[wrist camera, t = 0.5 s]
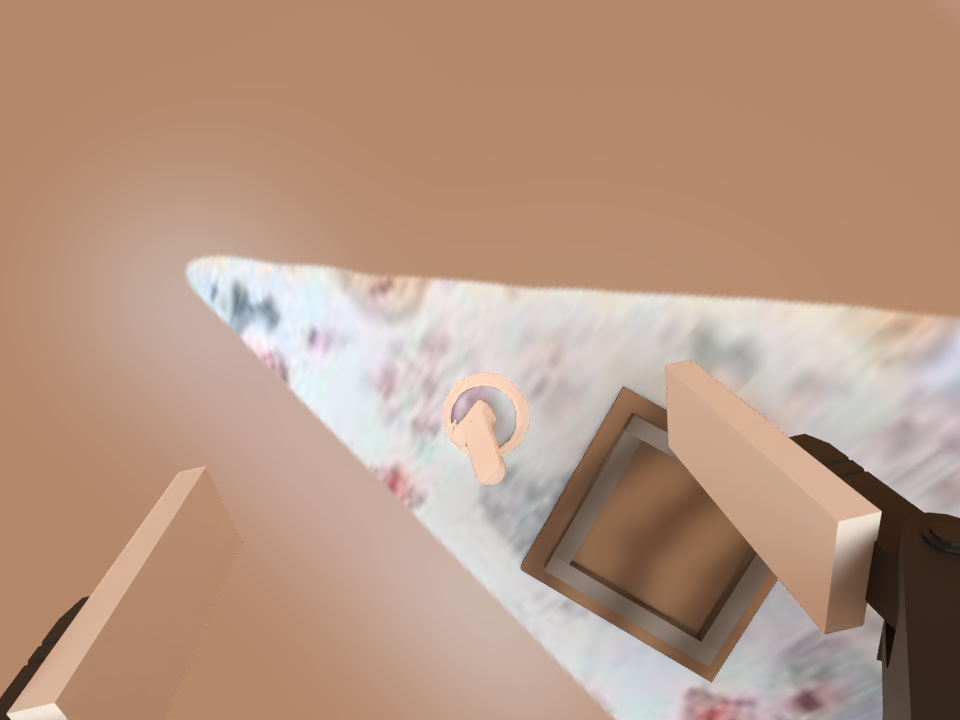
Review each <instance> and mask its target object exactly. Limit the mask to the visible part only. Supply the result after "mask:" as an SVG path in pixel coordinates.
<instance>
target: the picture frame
mask: <svg viewBox="0 0 960 720" xmlns="http://www.w3.org/2000/svg"><path fill="white" fill-rule="evenodd" d="M521 570H522V571H524V572H525V573H527V574H529V575H531V576H532V577H534V578H536V579H537V580H539V581H541V582H542V583H544V584H546V585H547V586H549V587H551V588H553V589H554V590H556V591H558V592H559V593H561V594H563V595H564V596H566V597H568V598H569V599H571V600H573V601H575V602H576V603H578V604H580V605H581V606H583V607H585V608H586V609H588V610H590V611H591V612H593V613H595V614H597V615H598V616H600V617H602V618H603V619H605V620H607V621H608V622H610V623H612V624H614V625H615V626H617V627H619V628H620V629H622V630H624V631H625V632H627V633H629V634H630V635H632V636H634V637H636V638H637V639H639V640H641V641H642V642H644V643H646V644H647V645H649V646H651V647H652V648H654V649H656V650H658V651H659V652H661V653H663V654H664V655H666V656H668V657H669V658H671V659H673V660H674V661H676V662H678V663H680V664H681V665H683V666H685V667H686V668H688V669H690V670H691V671H693V672H695V673H696V674H698V675H700V676H702V677H703V678H705V679H707V680H708V681H710V682H712V681H713V679H714V678H715V676H716V675H717V673H718V672H719V670H720V668H721V667H722V665H723V664H724V662H725V661H726V659H727V658H728V656H729V654H730V653H731V651H732V650H733V648H734V647H735V645H736V643H737V642H738V640H739V639H740V637H741V636H742V634H743V633H744V631H745V629H746V628H747V626H748V625H749V623H750V622H751V620H752V618H753V617H754V615H755V614H756V612H757V611H758V609H759V608H760V606H761V604H762V603H763V601H764V600H765V598H766V597H767V595H768V593H769V592H770V590H771V589H772V587H773V586H774V584H775V583H776V581H777V579H778V578H777V576H776V575H775V574H774V573H773V572H772V570H771V569H770V568H769V567H768V566H767V564H766V563H765V562H764V561H763V560H762V558H761V557H760V556H759V555H758V554H757V552H756V551H755V550H754V549H753V548H752V546H751V545H750V544H749V543H748V542H747V540H746V539H745V538H744V537H743V535H742V534H741V533H740V532H739V531H738V529H737V528H736V527H735V526H734V525H733V523H732V522H731V521H730V520H729V519H728V517H727V516H726V515H725V514H724V513H723V511H722V510H721V509H720V508H719V507H718V505H717V504H716V503H715V502H714V501H713V499H712V498H711V497H710V496H709V494H708V493H707V492H706V491H705V490H704V488H703V487H702V486H701V485H700V484H699V482H698V481H697V480H696V479H695V478H694V476H693V475H692V474H691V473H690V472H689V470H688V469H687V468H686V467H685V466H684V464H683V463H682V462H681V461H680V460H679V458H678V457H677V456H676V455H675V453H674V452H673V451H672V450H671V449H670V447H669V445H668V422H667V410H665V409H663V408H662V407H660V406H658V405H656V404H654V403H652V402H650V401H649V400H647V399H645V398H643V397H641V396H639V395H637V394H636V393H634V392H632V391H630V390H628V389H626V388H625V387H623V389H622V390H621V392H620V394H619V396H618V397H617V399H616V401H615V402H614V404H613V406H612V408H611V409H610V411H609V413H608V415H607V416H606V418H605V420H604V422H603V423H602V425H601V427H600V429H599V430H598V432H597V434H596V436H595V437H594V439H593V441H592V443H591V444H590V446H589V448H588V449H587V451H586V453H585V455H584V456H583V458H582V460H581V462H580V463H579V465H578V467H577V469H576V470H575V472H574V474H573V476H572V477H571V479H570V481H569V483H568V484H567V486H566V488H565V490H564V491H563V493H562V495H561V496H560V498H559V500H558V502H557V503H556V505H555V507H554V509H553V510H552V512H551V514H550V516H549V517H548V519H547V521H546V523H545V524H544V526H543V528H542V530H541V531H540V533H539V535H538V537H537V538H536V540H535V542H534V543H533V545H532V547H531V549H530V550H529V552H528V554H527V556H526V557H525V559H524V561H523V563H522V564H521Z"/></svg>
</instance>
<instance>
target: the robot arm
mask: <svg viewBox="0 0 960 720" xmlns="http://www.w3.org/2000/svg"><path fill="white" fill-rule="evenodd" d="M665 375H666V398H667V422H668V445H669V447H670V449H671V450H672V451H673V452H674V453H675V455H676V456H677V457H678V458H679V460H680V461H681V462H682V463H683V464H684V466H685V467H686V468H687V469H688V470H689V472H690V473H691V474H692V475H693V476H694V478H695V479H696V480H697V481H698V482H699V484H700V485H701V486H702V487H703V488H704V490H705V491H706V492H707V493H708V494H709V496H710V497H711V498H712V499H713V501H714V502H715V503H716V504H717V505H718V507H719V508H720V509H721V510H722V511H723V513H724V514H725V515H726V516H727V517H728V519H729V520H730V521H731V522H732V523H733V525H734V526H735V527H736V528H737V529H738V531H739V532H740V533H741V534H742V535H743V537H744V538H745V539H746V540H747V542H748V543H749V544H750V545H751V546H752V548H753V549H754V550H755V551H756V552H757V554H758V555H759V556H760V557H761V558H762V560H763V561H764V562H765V563H766V564H767V566H768V567H769V568H770V569H771V570H772V572H773V573H774V574H775V575H776V576H777V578H778V579H779V580H780V581H781V582H782V584H783V585H784V586H785V587H786V589H787V590H788V591H789V592H790V593H791V595H792V596H793V597H794V598H795V599H796V601H797V602H798V603H799V604H800V605H801V607H802V608H803V609H804V610H805V611H806V613H807V614H808V615H809V616H810V617H811V619H812V620H813V621H814V622H815V623H816V625H817V626H818V627H819V628H820V630H821V631H822V632H823V633H824V634H828V633H833V632H837V631H841V630H845V629H849V628H854V627H858V626H862V625H863V623H864V617H865V611H866V604H867V602H868V603H869V605H870V606H871V607H872V608H873V609H874V610H875V611H876V612H877V613H878V614H879V615H880V616H881V617H882V618H883V619H884V623H883V628H882V634H881V639H880V644H879V650H878V655H877V660H880V661H882V682H883V720H960V518H958V517H954V516H951V515H947V514H938V513H924V512H922V511H921V510H920V509H918V508H917V507H916V506H914V505H913V504H911V503H910V502H909V501H907V500H906V499H905V498H903V497H902V496H900V495H899V494H898V493H896V492H895V491H894V490H892V489H891V488H890V487H888V486H887V485H885V484H884V483H883V482H881V481H880V480H879V479H877V478H876V477H874V476H873V475H872V474H870V473H869V472H868V471H867V472H865V471H864V468H862V467H861V466H859V465H858V464H857V463H855V462H854V461H853V460H849V459H848V457H847V456H846V455H844V454H843V453H842V452H840V451H839V450H838V449H836V448H835V447H833V446H832V445H831V444H829V443H827V442H824V441H822V440H819V439H817V438H814V437H812V436H809V435H807V434H802V435H797V436H793V437H787V436H786V435H785V434H784V433H782V432H781V431H780V430H778V429H777V428H776V427H775V426H773V425H772V424H771V423H770V422H768V421H767V420H766V419H765V418H763V417H762V416H761V415H760V414H758V413H757V412H756V411H755V410H753V409H752V408H751V407H750V406H748V405H747V404H746V403H745V402H743V401H742V400H741V399H739V398H738V397H737V396H736V395H734V394H733V393H732V392H731V391H729V390H728V389H727V388H726V387H724V386H723V385H722V384H721V383H719V382H718V381H717V380H716V379H714V378H713V377H712V376H711V375H709V374H708V373H707V372H706V371H704V370H703V369H702V368H700V367H699V366H698V365H697V364H695V363H694V362H693V361H692V360H689V361H684V362H680V363H675V364H670V365H666V366H665ZM241 544H242V539H241V537H240V535H239V533H238V531H237V529H236V527H235V525H234V523H233V520H232V518H231V516H230V514H229V512H228V510H227V508H226V506H225V504H224V502H223V500H222V497H221V495H220V493H219V491H218V489H217V487H216V485H215V483H214V481H213V478H212V476H211V474H210V472H209V470H208V468H207V467H206V466H204V467H200V468H195V469H190V470H185V471H181V472H179V473H178V474H177V475H176V477H175V478H174V480H173V481H172V482H171V484H170V485H169V487H168V488H167V489H166V491H165V492H164V494H163V495H162V496H161V498H160V499H159V501H158V502H157V503H156V505H155V506H154V508H153V509H152V510H151V512H150V513H149V515H148V516H147V517H146V519H145V520H144V522H143V523H142V525H141V526H140V527H139V529H138V530H137V531H136V533H135V534H134V536H133V537H132V538H131V540H130V541H129V543H128V544H127V546H126V547H125V548H124V550H123V551H122V552H121V554H120V555H119V557H118V558H117V560H116V561H115V563H114V564H113V565H112V567H111V568H110V569H109V571H108V572H107V573H106V575H105V576H104V578H103V579H102V581H101V582H100V583H99V585H98V586H97V587H96V589H95V590H94V592H93V593H92V595H91V596H89V597H85V598H82V599H81V600H80V601H79V602H78V603H76V604H75V605H74V606H73V607H72V608H71V609H70V610H69V611H68V612H66V613H65V614H64V615H63V616H62V617H61V618H60V619H59V620H58V621H57V623H56V624H55V625H54V627H53V628H52V629H51V631H50V632H49V633H48V635H47V636H46V637H45V639H44V640H43V641H42V646H40V647H38V648H37V649H36V651H35V652H34V653H33V655H32V656H31V657H30V659H29V660H28V665H26V666H24V667H23V668H22V669H21V671H20V672H19V674H18V675H17V676H16V678H15V679H14V680H13V682H12V683H11V684H10V686H9V687H8V688H7V690H6V691H5V692H4V694H3V695H2V696H1V698H0V720H166V719H167V716H168V714H169V712H170V709H171V707H172V705H173V702H174V700H175V698H176V695H177V693H178V691H179V689H180V686H181V684H182V682H183V679H184V677H185V675H186V672H187V670H188V668H189V665H190V663H191V661H192V658H193V656H194V654H195V651H196V649H197V647H198V644H199V642H200V639H201V637H202V635H203V633H204V630H205V628H206V626H207V623H208V621H209V619H210V616H211V614H212V612H213V609H214V607H215V605H216V602H217V600H218V598H219V595H220V593H221V591H222V588H223V586H224V584H225V582H226V579H227V577H228V575H229V572H230V570H231V567H232V565H233V563H234V561H235V558H236V556H237V554H238V551H239V549H240V547H241Z"/></svg>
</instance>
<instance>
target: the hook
mask: <svg viewBox="0 0 960 720" xmlns="http://www.w3.org/2000/svg"><path fill="white" fill-rule="evenodd" d="M477 386H489V387H493V388H496V389H498V390H500V391H501V392H503V393H504V394H505V395H506V396H507V397H508V398H509V399H510V401H511V402H512V404H513V406H514V408H515V412H516V427H515V430H514V433H513V435H512V437H511V438H510V440H509V441H508V442H507V443H506V444H505V445H503V446H502V447H500V448H499V446H498V443H497V440H496V437H495V434H494V432H493V429H492V427H493V426H494V425H495V422H496V419H495V415H494V413H493V411H492V409H491V408H490V406H489V405H488V404H487V403H486V402H484V401H481V400H478V402H476V403H475V404H474V405H473V406H472V408H471V409H470V410H469V412H468V413H467V414H466V416H465V417H464V419H463V420H462V421H460V422H459V424H458V425H457V424H456V420H454V421H453V422H452V424H451V413H452V408H453V406H454V403H455V402H456V400H457V398H458V397H459V396H460V395H461V394H462V393H464V392H465V391H466V390H468V389H470V388H473V387H477ZM443 423H444V427H445V430H446V433H447V435H448V437H449V438H450V440H451V441H452V443H453V444H454V445H455V446H456V447H457V448H458V449H459V450H461V451H462V452H464V453H465V454H467V455H469V456H470V457H471V461H472V465H473V468H474V472H475V475H476V478H477V481H478V483H480V484H483V485H489V486H492V485H495V484H497V483H499V482H500V481H501V480H502V479H503V477H504V476H505V472H506V468H505V465H504V461H503V458H502V456H505V455H507V454H509V453H510V452H512V451H513V450H514V449H515V448H516V447H517V446H518V445H519V444H520V443H521V442H522V440H523V438H524V437H525V435H526V432H527V429H528V425H529V409H528V404H527V401H526V399H525V397H524V395H523V393H522V392H521V391H520V389H519V388H518V387H517V386H516V385H515V384H514V383H513V382H512V381H510V380H508V379H507V378H505V377H503V376H500V375H498V374H493V373H477V374H473V375H470V376H468V377H466V378H464V379H462V380H461V381H459V382H458V383H457V384H456V385H455V386H454V387H453V388H452V389H451V391H450V392H449V394H448V396H447V398H446V400H445V403H444V408H443ZM453 429H454V430H453ZM466 443H467V446H466V445H465V444H466Z"/></svg>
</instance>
